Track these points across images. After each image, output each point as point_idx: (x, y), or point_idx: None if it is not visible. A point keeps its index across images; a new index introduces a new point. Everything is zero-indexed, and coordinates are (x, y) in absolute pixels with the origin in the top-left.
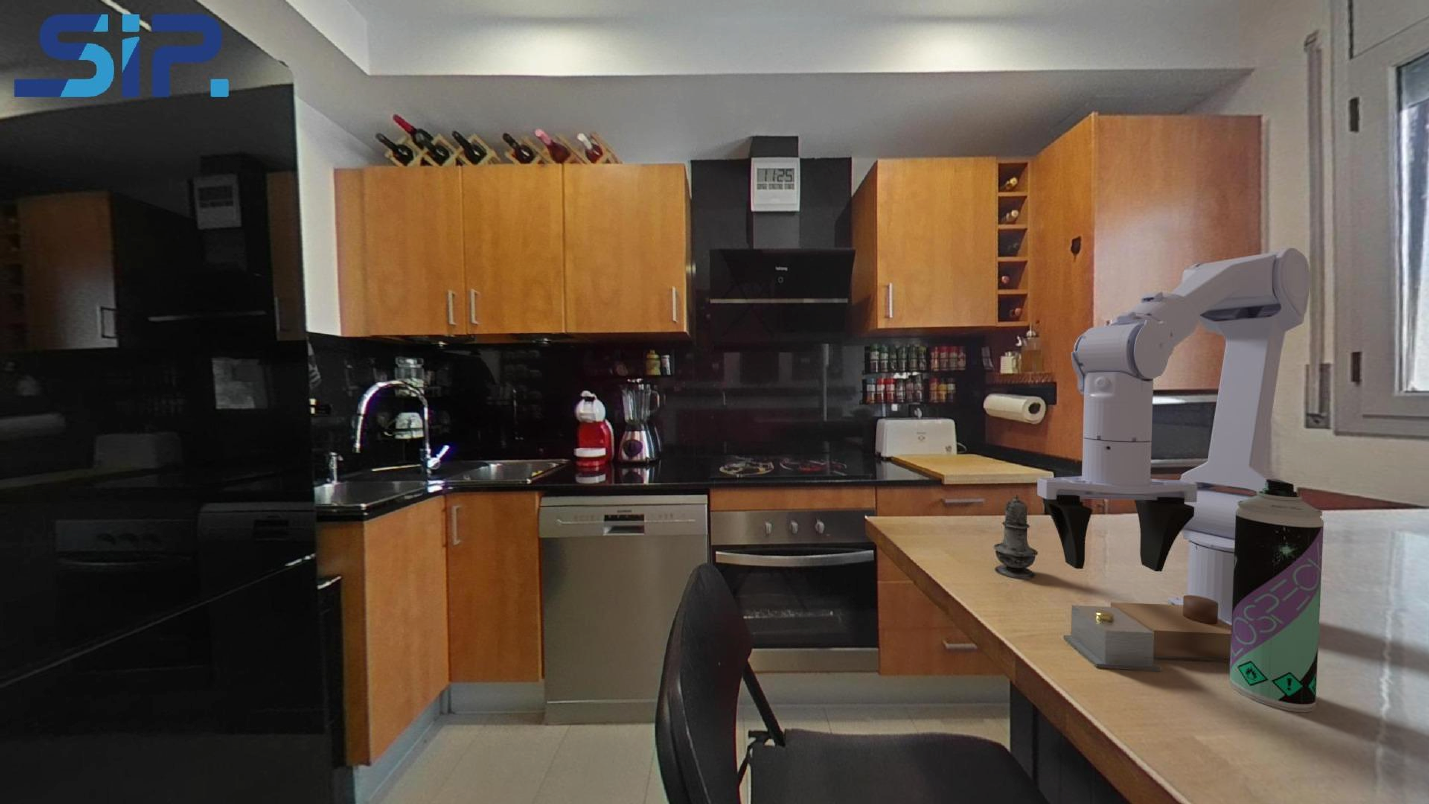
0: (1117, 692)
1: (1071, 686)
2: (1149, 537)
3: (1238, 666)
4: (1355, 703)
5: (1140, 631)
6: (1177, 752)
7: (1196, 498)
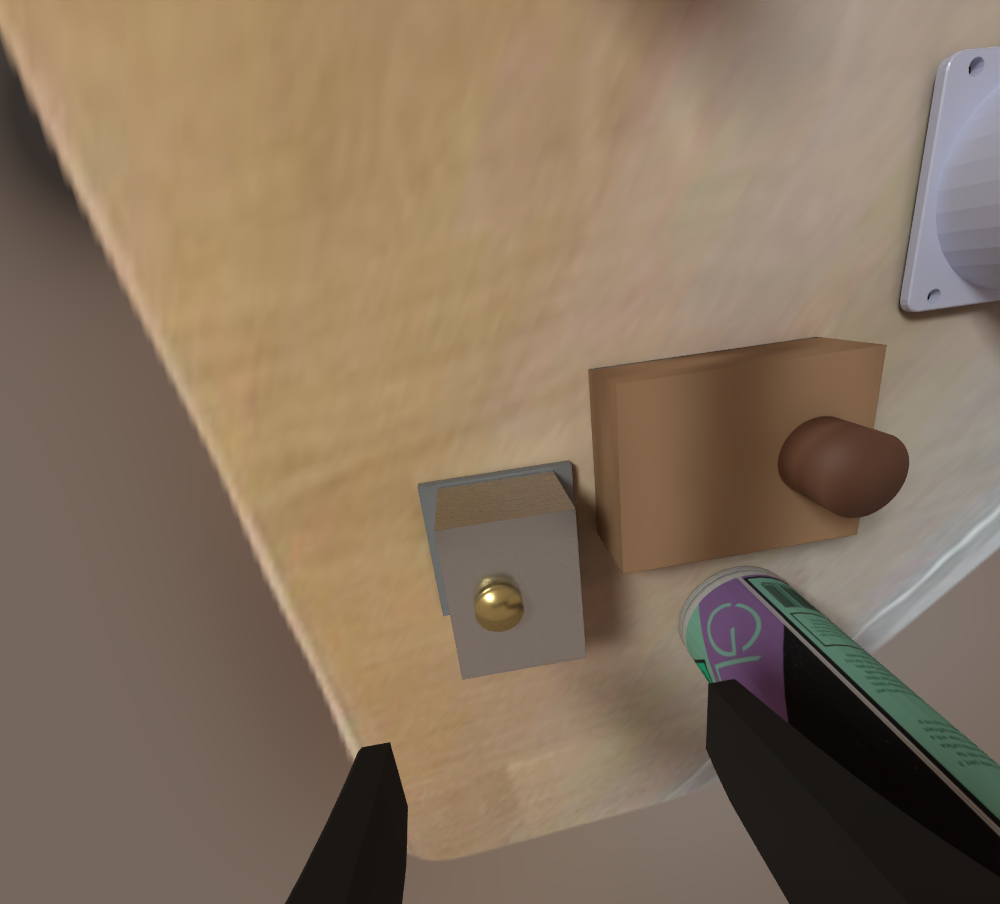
0: (444, 686)
1: (361, 691)
2: (821, 876)
3: (704, 664)
4: (856, 605)
5: (555, 657)
6: (459, 805)
7: None
